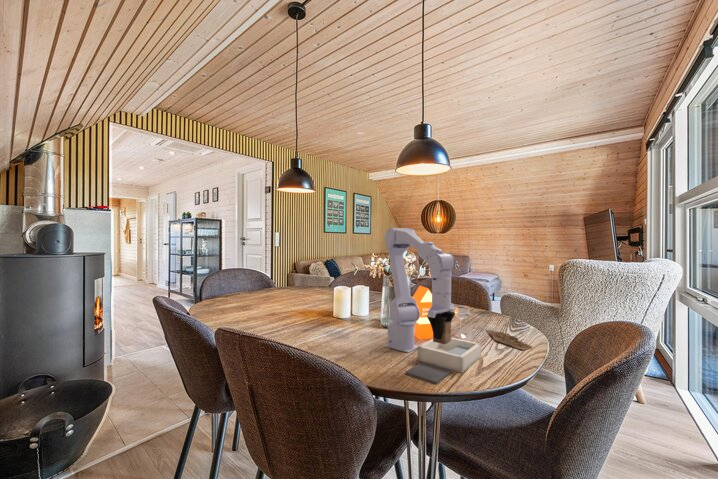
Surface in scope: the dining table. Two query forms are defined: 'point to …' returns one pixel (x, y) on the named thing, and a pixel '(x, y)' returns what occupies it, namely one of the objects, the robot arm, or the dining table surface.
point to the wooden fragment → (508, 340)
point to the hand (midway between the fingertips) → (441, 336)
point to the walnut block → (445, 334)
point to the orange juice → (423, 313)
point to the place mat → (429, 372)
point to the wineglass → (461, 316)
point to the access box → (450, 354)
